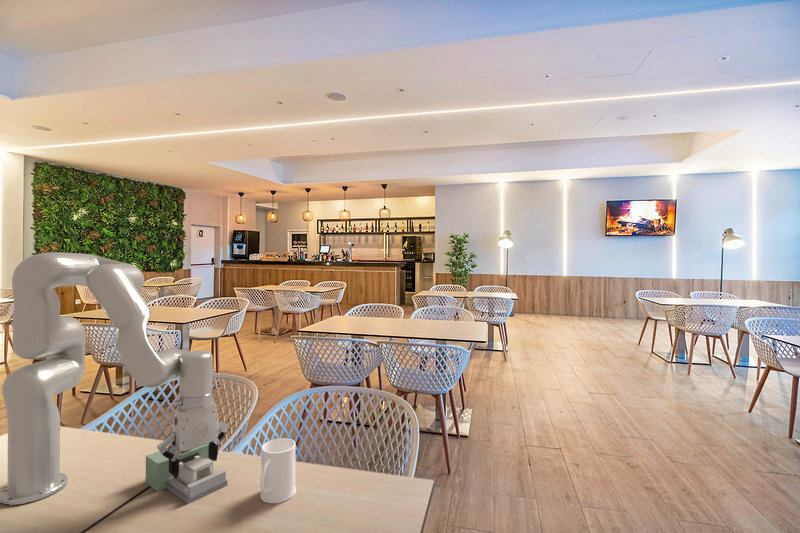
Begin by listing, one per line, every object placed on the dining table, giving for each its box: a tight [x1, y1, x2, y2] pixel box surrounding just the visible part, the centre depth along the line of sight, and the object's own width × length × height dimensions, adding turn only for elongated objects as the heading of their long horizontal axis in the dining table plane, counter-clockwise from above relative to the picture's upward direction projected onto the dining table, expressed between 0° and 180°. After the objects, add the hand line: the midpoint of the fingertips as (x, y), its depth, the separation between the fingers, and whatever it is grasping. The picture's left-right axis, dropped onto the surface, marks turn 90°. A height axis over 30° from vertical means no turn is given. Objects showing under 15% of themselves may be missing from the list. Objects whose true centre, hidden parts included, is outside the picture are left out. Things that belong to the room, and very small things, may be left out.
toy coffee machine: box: [145, 443, 228, 505], centre depth 102 cm, size 18×14×8 cm
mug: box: [259, 437, 297, 504], centre depth 95 cm, size 12×8×12 cm
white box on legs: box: [178, 456, 214, 486], centre depth 100 cm, size 8×5×5 cm, turn 54°
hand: (194, 466), depth 100 cm, fingers open, 9 cm apart
